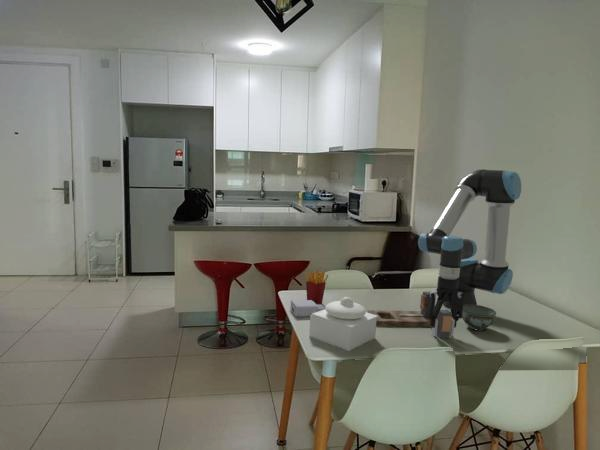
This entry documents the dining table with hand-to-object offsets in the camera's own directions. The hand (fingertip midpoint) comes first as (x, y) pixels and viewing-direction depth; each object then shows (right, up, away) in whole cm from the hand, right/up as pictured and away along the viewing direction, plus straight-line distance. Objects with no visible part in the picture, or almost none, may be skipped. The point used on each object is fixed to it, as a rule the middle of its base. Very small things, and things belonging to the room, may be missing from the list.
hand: (442, 335), depth 177 cm
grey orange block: (0, 0, 0) cm, 0 cm away
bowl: (+18, 0, +12) cm, 21 cm away
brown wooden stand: (-10, +2, +15) cm, 19 cm away
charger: (-51, +5, +18) cm, 54 cm away
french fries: (-48, +7, +33) cm, 59 cm away
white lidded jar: (-39, +1, -7) cm, 40 cm away
